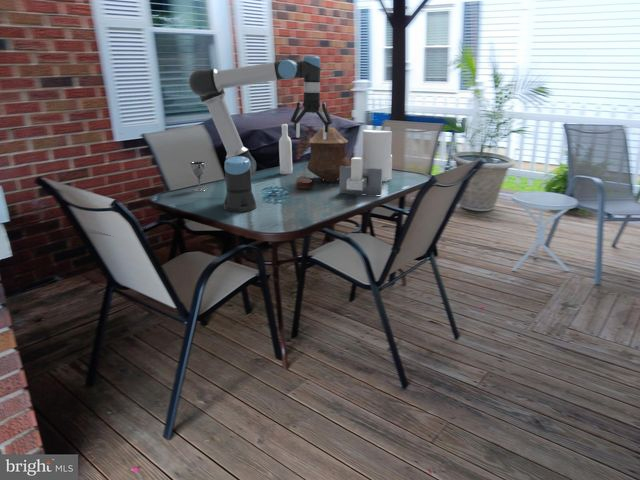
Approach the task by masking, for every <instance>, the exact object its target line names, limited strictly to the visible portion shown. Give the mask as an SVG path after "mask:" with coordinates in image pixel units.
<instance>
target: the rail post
mask: <svg viewBox="0 0 640 480" xmlns="http://www.w3.org/2000/svg"><path fill="white" fill-rule="evenodd" d="M350 162H351V166H350V167H351V180H354V181H362V163H363V158H362V157H356V156H355V157H352V158H351V160H350Z"/></svg>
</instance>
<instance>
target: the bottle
mask: <svg viewBox="0 0 640 480" xmlns="http://www.w3.org/2000/svg"><path fill="white" fill-rule="evenodd" d="M288 127H289V126H288V124H287V123H282V124H281V137H280V138H279V139H278V140H279V141H278V152H279V156H278V157H279V174H280V175H291V174H293V172H294V171H293V150H292V149H293V148H292V147H293V146H292V139H291V137H290V136H289V130H288V129H289V128H288Z"/></svg>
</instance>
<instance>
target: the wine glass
mask: <svg viewBox="0 0 640 480" xmlns="http://www.w3.org/2000/svg"><path fill="white" fill-rule="evenodd" d="M189 167H190V172H191V173H192V175H193V176H194V177H195V178H196V179H197V182H198V188H195V189H193V190H194V191H193V192H195V191H199V193H201V192H205V191H207V188H204V187H203V188H202V187H201V178H202V177H203V176H204V174H205V173H206V162H205V161H201V160H200V161H191V162H189Z"/></svg>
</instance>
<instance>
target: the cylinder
mask: <svg viewBox="0 0 640 480" xmlns="http://www.w3.org/2000/svg"><path fill="white" fill-rule="evenodd" d="M392 143H393V131H391V130H378V129H377V130H375V129H374V130H373V129H363V130H362V157H361V158H363V163H362V167H365V168H382V181H384V180H389V179H391V180H392V175H393V174H392V173H393V155H392Z"/></svg>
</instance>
